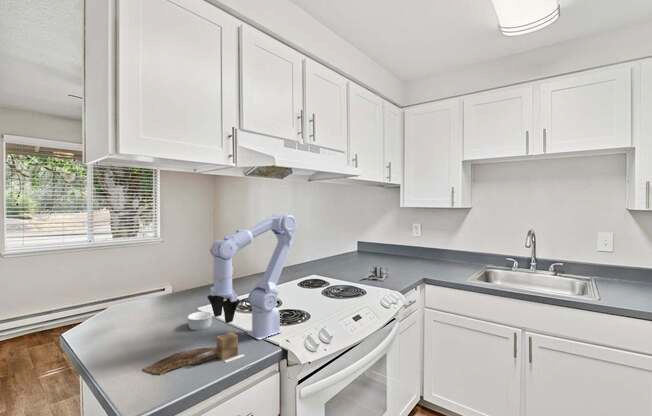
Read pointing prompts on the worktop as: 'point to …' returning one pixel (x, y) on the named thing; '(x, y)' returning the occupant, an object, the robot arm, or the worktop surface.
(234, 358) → the strip
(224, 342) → the mallet
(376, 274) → the bike brake
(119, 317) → the worktop surface
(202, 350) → the wooden fragment
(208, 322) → the ramekin
